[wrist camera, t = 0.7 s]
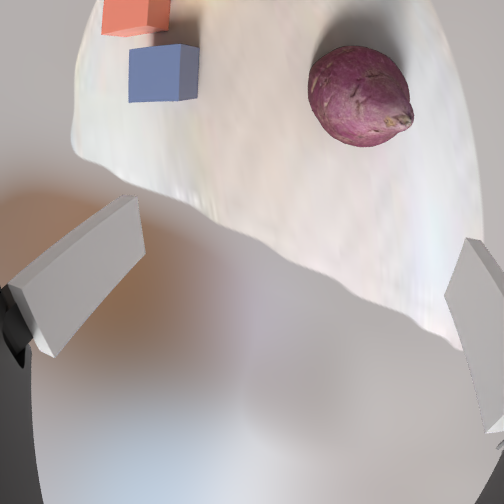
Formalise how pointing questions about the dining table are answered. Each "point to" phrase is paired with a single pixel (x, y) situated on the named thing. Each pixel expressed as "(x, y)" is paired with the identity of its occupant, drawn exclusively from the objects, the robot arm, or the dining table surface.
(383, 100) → the vegetable
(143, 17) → the red brick
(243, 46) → the dining table surface
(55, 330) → the robot arm
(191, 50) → the blue cube
